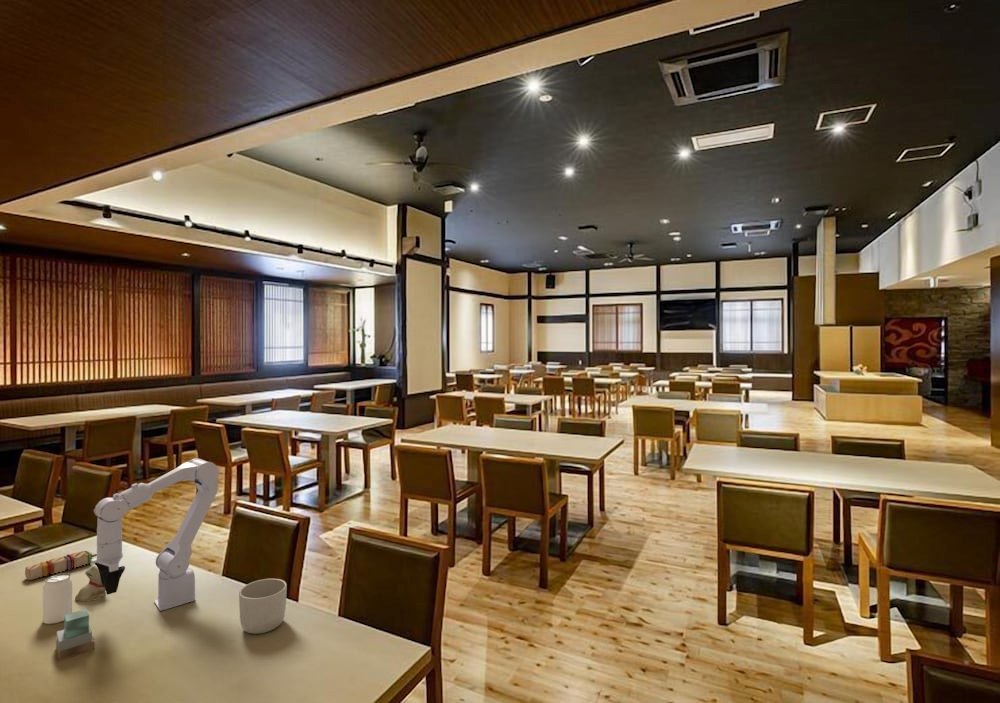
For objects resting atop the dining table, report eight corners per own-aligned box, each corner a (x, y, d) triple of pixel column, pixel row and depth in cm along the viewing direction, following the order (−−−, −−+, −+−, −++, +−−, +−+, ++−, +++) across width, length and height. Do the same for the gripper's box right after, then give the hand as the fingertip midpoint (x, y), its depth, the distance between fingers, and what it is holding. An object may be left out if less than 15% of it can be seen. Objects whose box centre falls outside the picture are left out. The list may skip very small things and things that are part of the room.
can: (54, 626, 144) (55, 584, 144) (36, 623, 145) (36, 581, 145) (77, 614, 150) (78, 574, 150) (60, 611, 151) (60, 571, 151)
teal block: (86, 625, 136) (86, 608, 136) (88, 632, 133) (88, 615, 133) (64, 631, 133) (64, 614, 133) (66, 638, 130) (66, 621, 130)
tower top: (88, 631, 138) (88, 622, 138) (91, 641, 133) (91, 631, 133) (56, 641, 133) (56, 631, 133) (59, 651, 129) (59, 642, 129)
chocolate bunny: (97, 602, 157) (97, 569, 157) (72, 601, 158) (72, 569, 157) (111, 593, 163) (111, 562, 163) (87, 592, 163) (87, 561, 163)
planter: (293, 625, 146) (294, 588, 146) (248, 643, 137) (249, 603, 136) (275, 610, 154) (275, 574, 154) (231, 626, 145) (232, 588, 145)
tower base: (90, 639, 138) (90, 630, 138) (94, 650, 133) (94, 641, 133) (56, 650, 133) (56, 641, 133) (59, 662, 128) (59, 652, 128)
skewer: (29, 583, 169) (29, 568, 169) (23, 578, 172) (23, 563, 172) (104, 562, 186) (104, 548, 186) (97, 558, 190) (98, 544, 190)
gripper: (87, 537, 147) (87, 584, 147) (95, 552, 137) (95, 602, 137) (118, 531, 152) (117, 576, 152) (127, 545, 142) (127, 593, 142)
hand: (109, 588), depth 145 cm, fingers open, 7 cm apart
